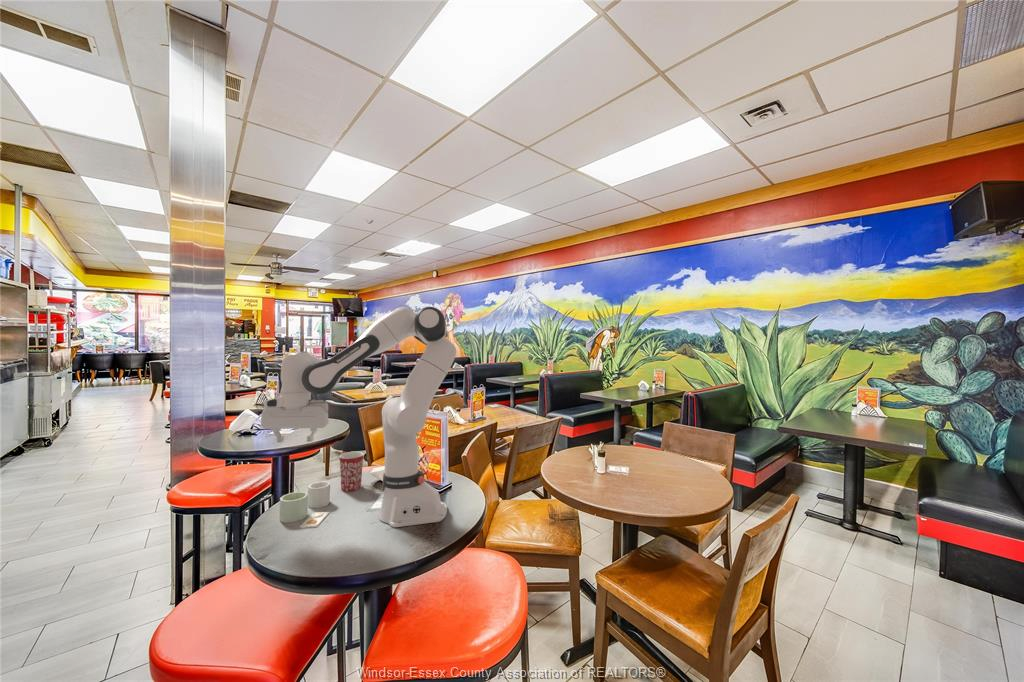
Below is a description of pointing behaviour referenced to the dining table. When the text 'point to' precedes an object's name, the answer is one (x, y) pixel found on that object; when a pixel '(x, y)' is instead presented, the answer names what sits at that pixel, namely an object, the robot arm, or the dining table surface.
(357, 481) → the mug
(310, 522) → the card
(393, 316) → the robot arm
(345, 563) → the dining table surface
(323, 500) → the tube grey
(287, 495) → the tube green
